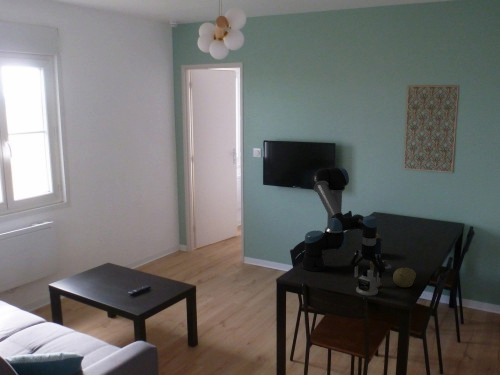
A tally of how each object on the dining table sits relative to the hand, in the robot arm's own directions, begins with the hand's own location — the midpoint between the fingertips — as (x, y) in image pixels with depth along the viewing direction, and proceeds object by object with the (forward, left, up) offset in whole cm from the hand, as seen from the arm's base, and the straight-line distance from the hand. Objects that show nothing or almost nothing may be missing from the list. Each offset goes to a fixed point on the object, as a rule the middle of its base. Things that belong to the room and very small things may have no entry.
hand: (367, 279), depth 264 cm
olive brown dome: (+13, +21, -7) cm, 26 cm away
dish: (0, 0, -7) cm, 7 cm away
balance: (-2, +10, -7) cm, 12 cm away
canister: (-24, +58, -7) cm, 63 cm away
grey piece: (0, 0, -6) cm, 6 cm away
